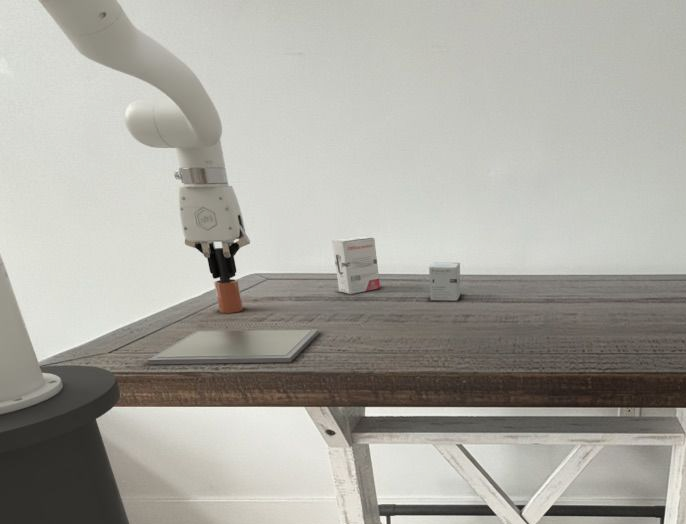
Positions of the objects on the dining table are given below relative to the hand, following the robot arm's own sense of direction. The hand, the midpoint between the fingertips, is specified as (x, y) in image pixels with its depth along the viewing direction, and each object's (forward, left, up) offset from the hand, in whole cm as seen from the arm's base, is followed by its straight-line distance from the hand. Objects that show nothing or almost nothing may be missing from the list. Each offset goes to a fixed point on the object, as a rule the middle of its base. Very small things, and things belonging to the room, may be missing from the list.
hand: (224, 276), depth 110 cm
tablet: (-25, -12, -7) cm, 28 cm away
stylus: (0, 0, -6) cm, 6 cm away
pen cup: (0, 0, -7) cm, 7 cm away
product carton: (+9, -43, -7) cm, 45 cm away
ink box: (+18, -22, -7) cm, 29 cm away
